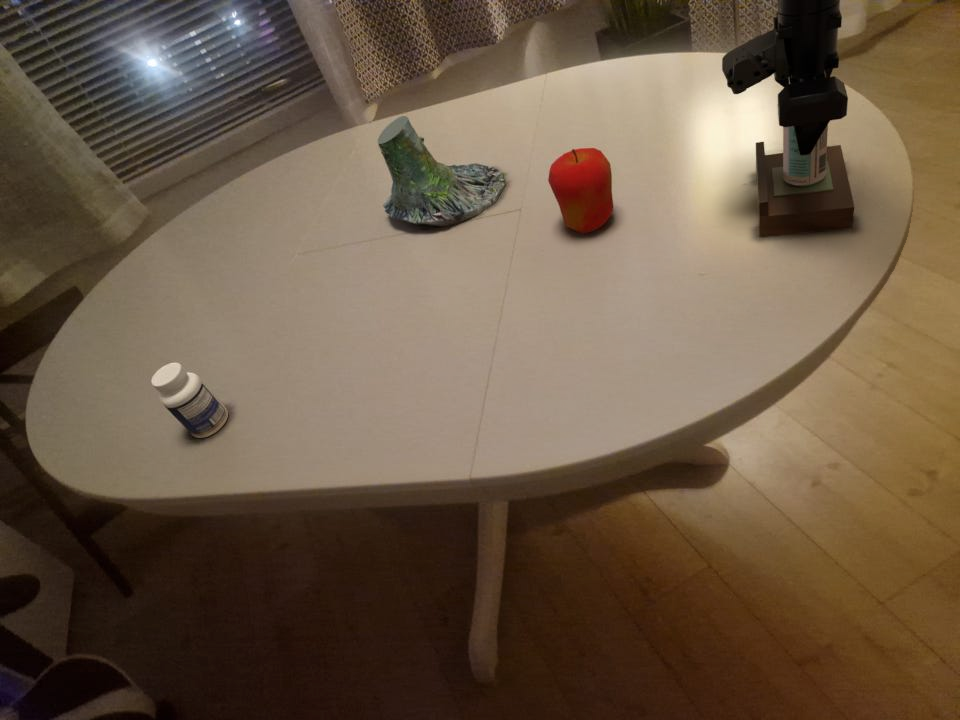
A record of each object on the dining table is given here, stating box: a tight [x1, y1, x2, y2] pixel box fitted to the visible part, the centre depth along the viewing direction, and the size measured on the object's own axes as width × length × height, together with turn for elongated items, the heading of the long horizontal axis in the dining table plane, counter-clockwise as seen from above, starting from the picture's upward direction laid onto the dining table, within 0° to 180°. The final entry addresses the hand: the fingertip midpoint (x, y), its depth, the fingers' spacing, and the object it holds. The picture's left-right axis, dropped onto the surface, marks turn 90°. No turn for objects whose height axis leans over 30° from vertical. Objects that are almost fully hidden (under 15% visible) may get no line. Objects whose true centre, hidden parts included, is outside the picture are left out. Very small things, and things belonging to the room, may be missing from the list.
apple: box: [547, 147, 614, 234], centre depth 89 cm, size 9×8×12 cm
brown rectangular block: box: [755, 141, 855, 238], centre depth 81 cm, size 10×14×5 cm
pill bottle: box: [150, 362, 229, 439], centre depth 83 cm, size 5×5×10 cm
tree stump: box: [377, 115, 506, 227], centre depth 105 cm, size 18×20×18 cm
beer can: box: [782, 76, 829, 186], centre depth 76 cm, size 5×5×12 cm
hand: (803, 143), depth 77 cm, fingers closed on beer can, 5 cm apart
